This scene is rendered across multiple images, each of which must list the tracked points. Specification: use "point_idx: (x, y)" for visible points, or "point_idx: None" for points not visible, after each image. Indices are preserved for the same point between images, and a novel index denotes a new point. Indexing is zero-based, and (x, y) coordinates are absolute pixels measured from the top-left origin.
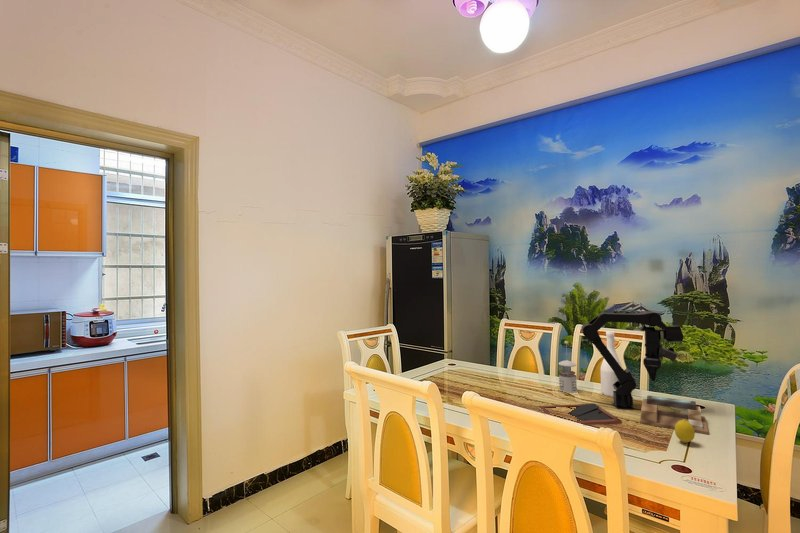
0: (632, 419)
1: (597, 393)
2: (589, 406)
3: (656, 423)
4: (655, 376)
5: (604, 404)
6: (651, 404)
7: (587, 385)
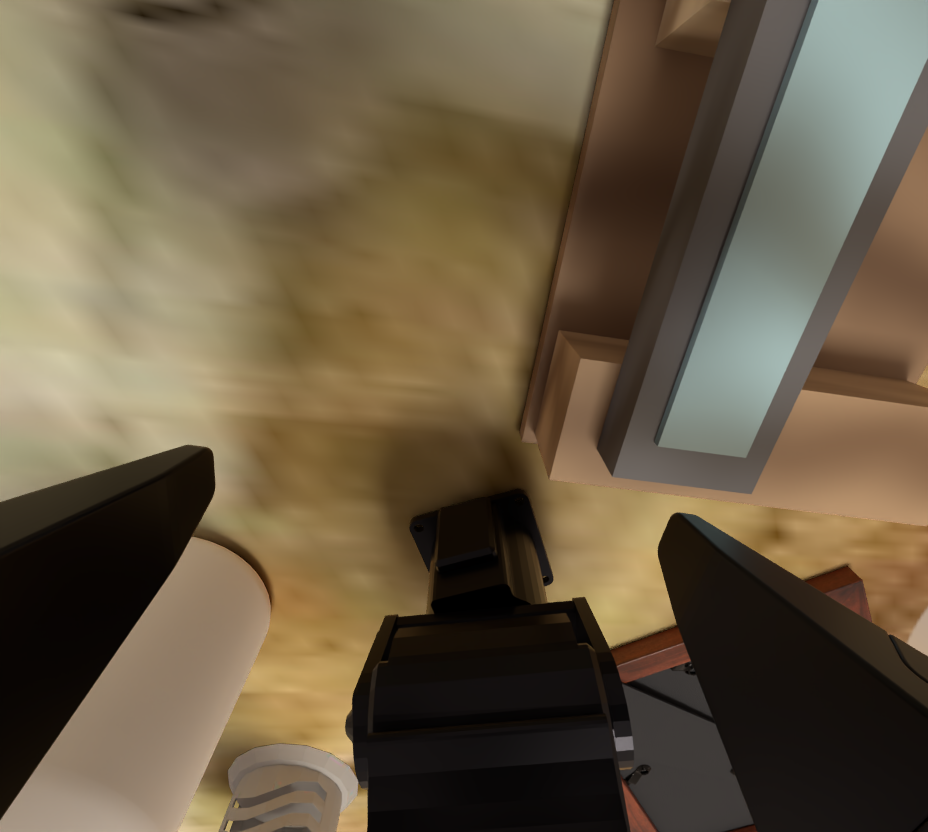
0: (758, 508)
1: None
2: None
3: (915, 383)
4: (797, 585)
5: None
6: None
7: None
